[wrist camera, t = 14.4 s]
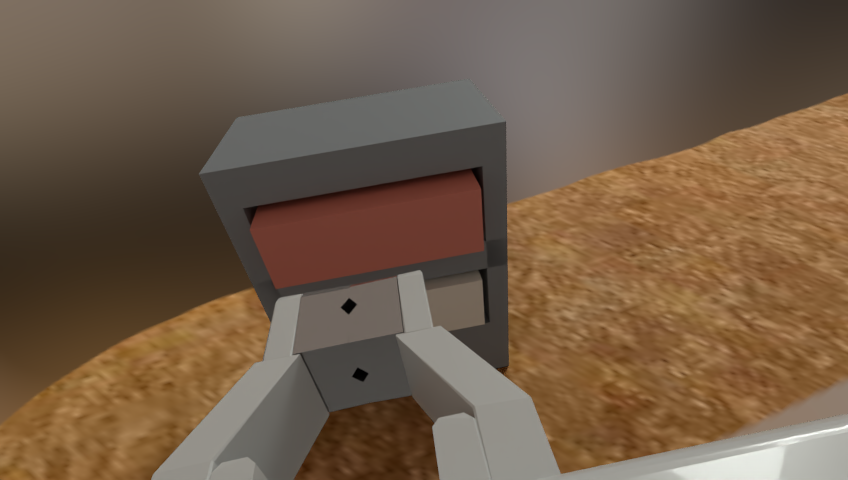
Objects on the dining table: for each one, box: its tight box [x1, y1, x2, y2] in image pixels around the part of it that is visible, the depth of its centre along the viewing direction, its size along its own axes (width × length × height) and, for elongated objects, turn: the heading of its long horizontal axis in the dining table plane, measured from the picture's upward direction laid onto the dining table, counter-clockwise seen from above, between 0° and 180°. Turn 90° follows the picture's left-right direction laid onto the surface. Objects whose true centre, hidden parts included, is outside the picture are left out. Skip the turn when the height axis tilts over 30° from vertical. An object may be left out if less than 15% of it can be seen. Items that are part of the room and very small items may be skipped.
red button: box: [250, 168, 484, 289], centre depth 21 cm, size 4×10×3 cm, turn 98°
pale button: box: [424, 270, 485, 331], centre depth 25 cm, size 4×10×3 cm, turn 98°
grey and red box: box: [199, 79, 509, 368], centre depth 25 cm, size 7×13×16 cm, turn 98°
